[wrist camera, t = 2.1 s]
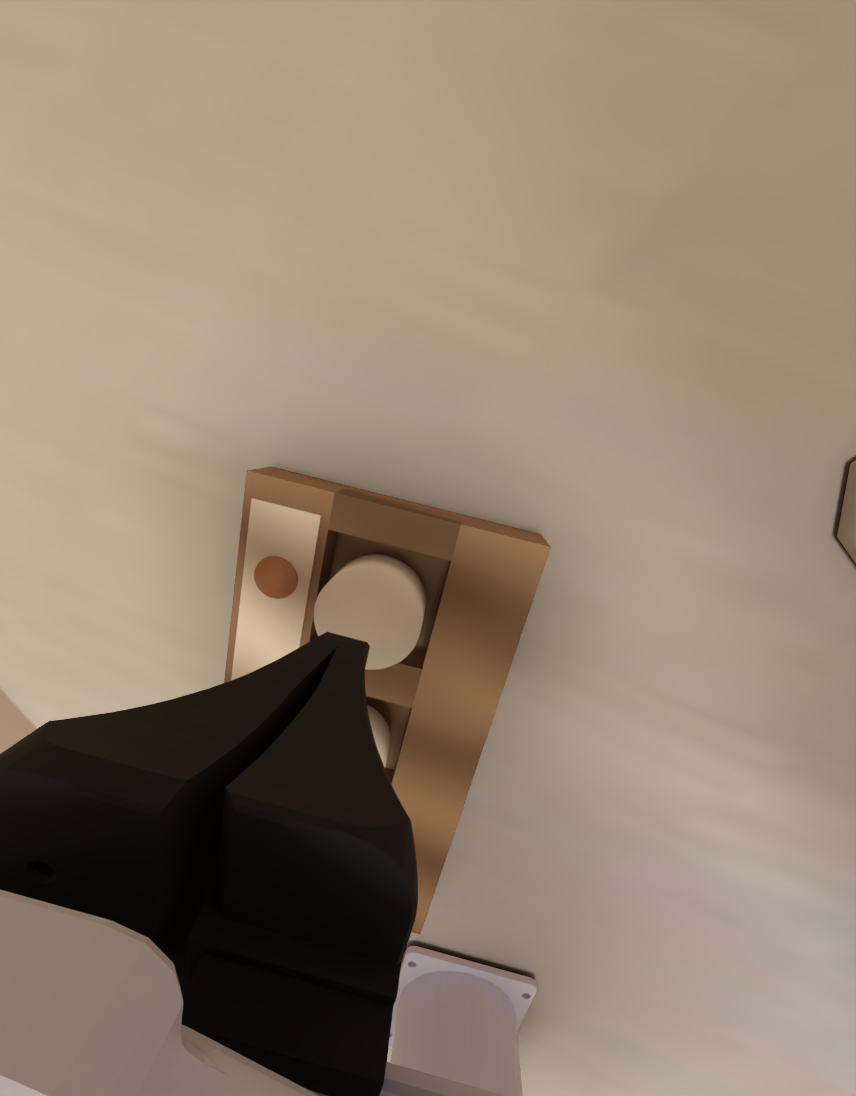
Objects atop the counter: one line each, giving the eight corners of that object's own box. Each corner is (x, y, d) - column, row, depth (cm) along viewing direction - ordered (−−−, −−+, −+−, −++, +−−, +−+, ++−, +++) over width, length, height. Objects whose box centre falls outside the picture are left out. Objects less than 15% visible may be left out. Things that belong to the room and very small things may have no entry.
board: (424, 893, 23) (419, 938, 21) (225, 839, 23) (201, 878, 21) (540, 534, 17) (551, 548, 15) (271, 467, 17) (244, 471, 15)
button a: (414, 654, 17) (407, 680, 15) (323, 630, 17) (306, 654, 15) (436, 567, 16) (432, 585, 14) (339, 543, 16) (322, 557, 14)
